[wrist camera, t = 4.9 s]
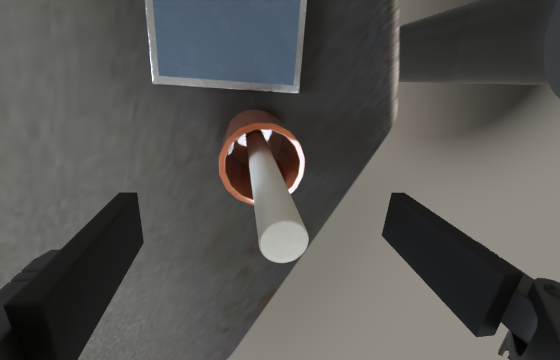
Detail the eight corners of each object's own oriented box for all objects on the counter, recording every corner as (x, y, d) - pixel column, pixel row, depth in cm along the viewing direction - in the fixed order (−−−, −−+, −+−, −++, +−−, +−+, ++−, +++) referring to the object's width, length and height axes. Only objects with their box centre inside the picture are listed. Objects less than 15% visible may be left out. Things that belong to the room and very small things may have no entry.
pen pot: (287, 111, 30) (309, 125, 21) (282, 169, 32) (300, 205, 23) (224, 107, 29) (218, 121, 20) (225, 168, 31) (219, 205, 22)
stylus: (265, 132, 30) (311, 220, 11) (264, 150, 31) (306, 262, 12) (246, 131, 30) (260, 221, 11) (245, 150, 30) (258, 264, 12)
